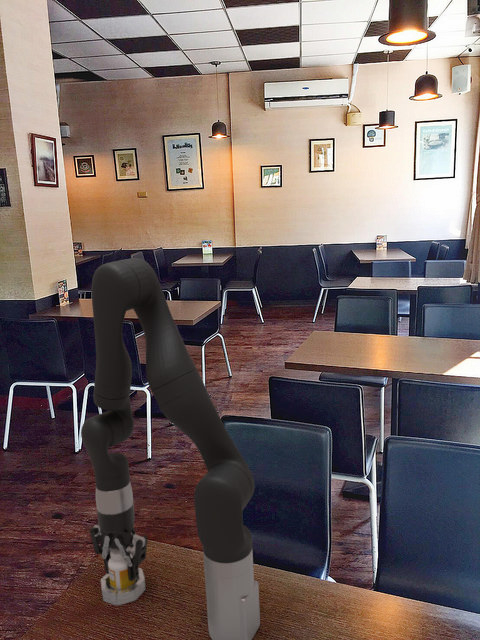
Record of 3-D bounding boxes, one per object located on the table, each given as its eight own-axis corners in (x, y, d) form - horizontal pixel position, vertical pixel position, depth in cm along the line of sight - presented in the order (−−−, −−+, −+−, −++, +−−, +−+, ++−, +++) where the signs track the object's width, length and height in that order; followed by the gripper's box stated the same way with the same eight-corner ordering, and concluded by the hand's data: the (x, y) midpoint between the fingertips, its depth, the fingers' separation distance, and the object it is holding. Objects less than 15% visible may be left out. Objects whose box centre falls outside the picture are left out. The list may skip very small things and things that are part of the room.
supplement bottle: (139, 581, 114) (135, 541, 112) (131, 598, 108) (127, 557, 107) (115, 580, 114) (111, 541, 113) (107, 598, 109) (102, 556, 107)
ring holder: (152, 581, 113) (151, 571, 113) (127, 609, 105) (126, 598, 105) (120, 571, 117) (119, 562, 117) (93, 597, 109) (92, 587, 109)
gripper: (153, 500, 108) (159, 572, 111) (100, 489, 114) (107, 557, 117) (131, 519, 101) (138, 595, 104) (76, 505, 108) (84, 577, 110)
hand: (122, 575), depth 111 cm, fingers closed on supplement bottle, 5 cm apart
